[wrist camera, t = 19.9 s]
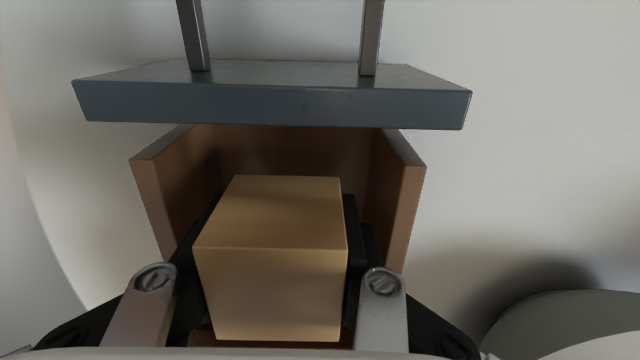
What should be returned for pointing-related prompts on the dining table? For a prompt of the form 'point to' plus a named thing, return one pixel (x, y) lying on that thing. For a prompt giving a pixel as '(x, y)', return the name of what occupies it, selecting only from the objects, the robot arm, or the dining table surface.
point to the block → (275, 259)
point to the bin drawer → (278, 129)
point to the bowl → (568, 327)
